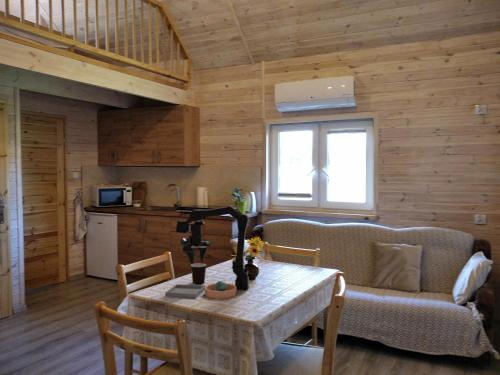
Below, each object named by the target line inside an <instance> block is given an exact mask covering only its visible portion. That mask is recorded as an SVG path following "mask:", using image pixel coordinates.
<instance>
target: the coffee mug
mask: <svg viewBox="0 0 500 375" xmlns="http://www.w3.org/2000/svg"><path fill="white" fill-rule="evenodd" d="M190 270H191V280H192V285H204V284H205V281H206V280H205V279H206V272H207V264H206V263H200V262H199V263H193V264H191V265H190Z"/></svg>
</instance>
